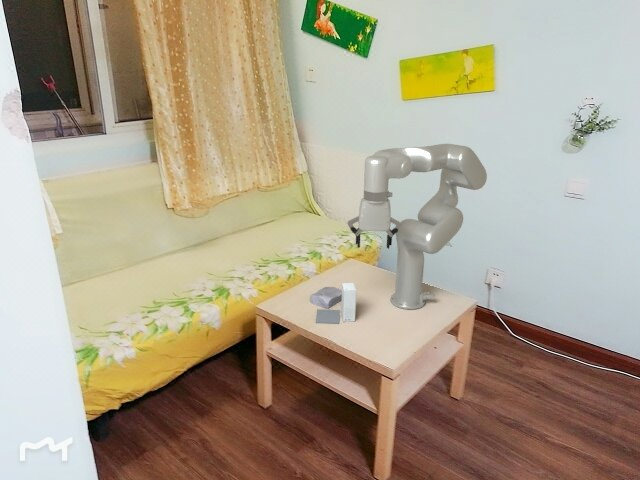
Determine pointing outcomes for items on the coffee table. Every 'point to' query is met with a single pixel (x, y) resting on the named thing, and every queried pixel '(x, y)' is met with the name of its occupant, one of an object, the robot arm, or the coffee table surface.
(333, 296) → the stone block
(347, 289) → the skincare box
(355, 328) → the coffee table surface
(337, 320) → the pad
